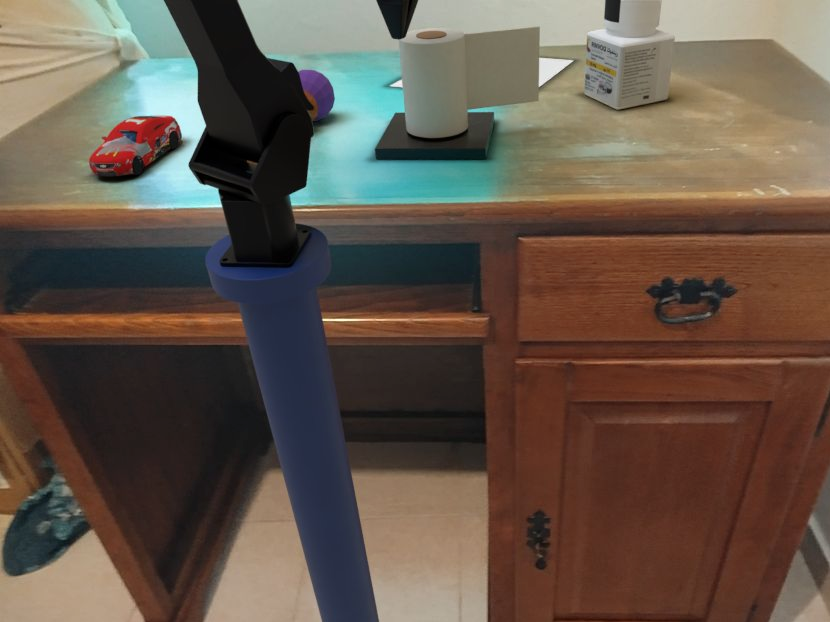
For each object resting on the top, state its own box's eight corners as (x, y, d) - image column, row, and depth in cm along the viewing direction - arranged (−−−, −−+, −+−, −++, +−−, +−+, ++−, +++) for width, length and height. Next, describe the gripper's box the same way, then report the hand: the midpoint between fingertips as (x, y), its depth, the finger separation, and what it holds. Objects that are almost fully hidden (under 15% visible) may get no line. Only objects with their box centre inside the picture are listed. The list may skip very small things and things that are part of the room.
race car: (129, 184, 76) (117, 147, 74) (84, 182, 77) (70, 145, 75) (192, 139, 87) (183, 105, 84) (151, 137, 88) (141, 104, 85)
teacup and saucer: (514, 63, 108) (514, 34, 105) (492, 78, 102) (491, 47, 100) (461, 58, 111) (460, 30, 109) (436, 72, 105) (435, 43, 103)
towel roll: (538, 114, 84) (540, 23, 79) (441, 147, 77) (434, 48, 71) (489, 99, 90) (487, 12, 84) (394, 127, 83) (384, 35, 77)
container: (582, 94, 94) (588, -16, 87) (632, 85, 97) (642, -24, 89) (616, 111, 89) (626, -6, 81) (668, 100, 91) (682, -15, 84)
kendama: (221, 136, 75) (286, 67, 90) (245, 187, 79) (304, 113, 94) (272, 126, 74) (330, 58, 88) (294, 179, 77) (347, 105, 92)
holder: (485, 159, 78) (485, 148, 77) (375, 159, 79) (374, 148, 78) (494, 121, 87) (494, 111, 87) (396, 122, 89) (395, 112, 88)
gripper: (373, -162, 70) (388, 13, 79) (229, -156, 57) (267, 52, 67) (472, -166, 65) (476, 21, 74) (338, -160, 53) (363, 65, 62)
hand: (398, 38), depth 69 cm, fingers closed
